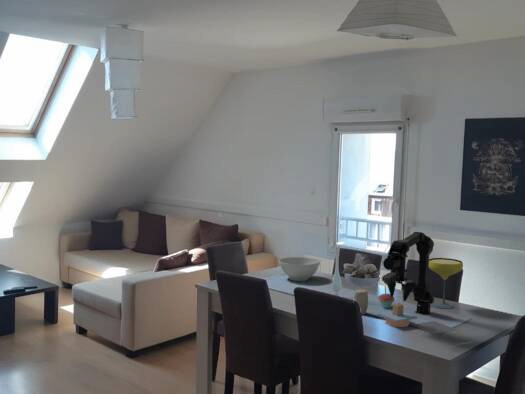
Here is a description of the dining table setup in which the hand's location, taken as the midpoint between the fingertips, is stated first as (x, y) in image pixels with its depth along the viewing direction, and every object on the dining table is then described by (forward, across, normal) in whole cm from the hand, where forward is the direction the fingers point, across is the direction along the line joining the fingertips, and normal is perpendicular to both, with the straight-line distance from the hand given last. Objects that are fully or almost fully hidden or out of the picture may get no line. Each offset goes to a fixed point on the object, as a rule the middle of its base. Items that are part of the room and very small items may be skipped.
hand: (398, 298), depth 267 cm
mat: (+13, +12, +12) cm, 21 cm away
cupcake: (+13, -27, +15) cm, 34 cm away
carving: (+13, -23, -5) cm, 27 cm away
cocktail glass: (+13, -15, +45) cm, 49 cm away
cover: (+9, 0, 0) cm, 9 cm away
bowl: (+13, 0, 0) cm, 13 cm away
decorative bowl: (+13, -103, +5) cm, 104 cm away
